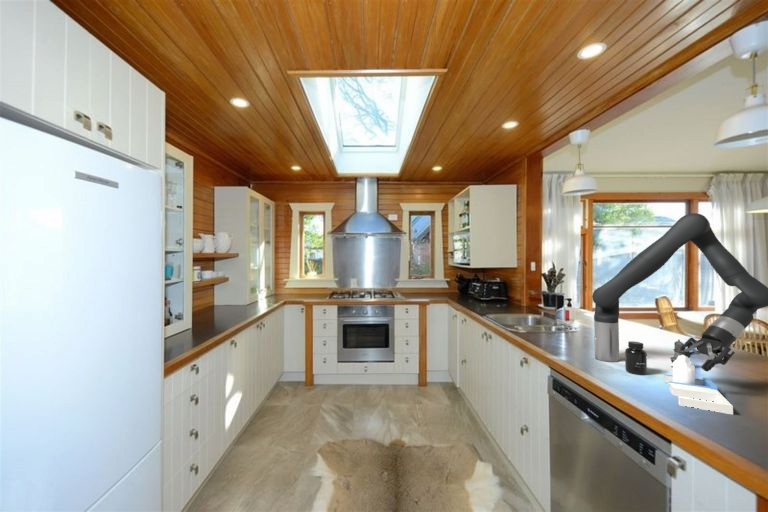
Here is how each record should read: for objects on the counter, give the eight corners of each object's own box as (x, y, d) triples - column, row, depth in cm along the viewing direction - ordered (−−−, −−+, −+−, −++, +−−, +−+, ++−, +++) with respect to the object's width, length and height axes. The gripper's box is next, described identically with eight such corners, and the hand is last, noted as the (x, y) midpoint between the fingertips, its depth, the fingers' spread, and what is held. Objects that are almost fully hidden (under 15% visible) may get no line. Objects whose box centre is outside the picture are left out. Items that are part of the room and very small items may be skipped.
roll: (689, 353, 116) (698, 357, 110) (690, 386, 115) (699, 392, 110) (669, 351, 118) (676, 356, 112) (669, 384, 118) (677, 390, 112)
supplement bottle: (641, 376, 126) (640, 345, 126) (622, 371, 132) (621, 341, 132) (650, 373, 129) (649, 343, 129) (631, 368, 135) (630, 339, 135)
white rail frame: (679, 405, 101) (679, 394, 101) (664, 381, 121) (664, 372, 121) (734, 414, 95) (733, 402, 95) (708, 387, 114) (708, 377, 114)
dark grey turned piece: (693, 370, 131) (692, 341, 131) (676, 370, 132) (675, 340, 133) (682, 366, 137) (682, 337, 137) (666, 365, 138) (666, 337, 138)
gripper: (695, 321, 121) (666, 352, 121) (737, 329, 107) (704, 364, 107) (710, 335, 121) (680, 366, 121) (753, 344, 107) (720, 380, 107)
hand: (691, 365), depth 114 cm, fingers open, 8 cm apart
